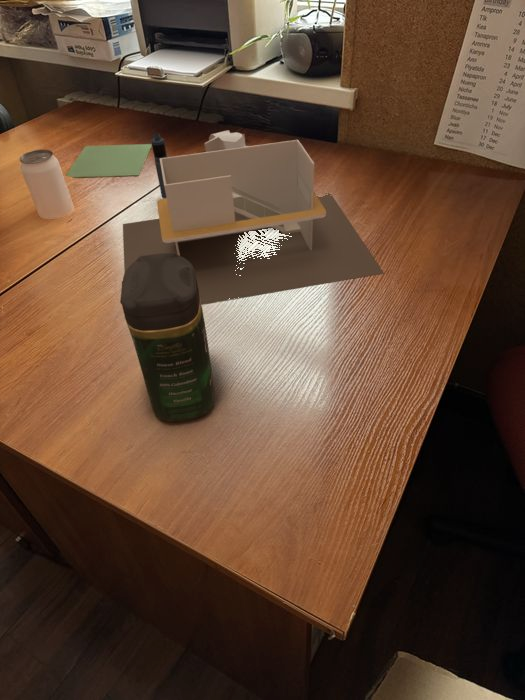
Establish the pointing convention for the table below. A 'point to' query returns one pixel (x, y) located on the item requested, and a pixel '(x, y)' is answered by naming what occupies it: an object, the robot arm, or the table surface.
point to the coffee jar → (169, 335)
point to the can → (46, 184)
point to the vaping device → (159, 153)
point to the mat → (110, 161)
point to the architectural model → (250, 223)
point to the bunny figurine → (225, 141)
